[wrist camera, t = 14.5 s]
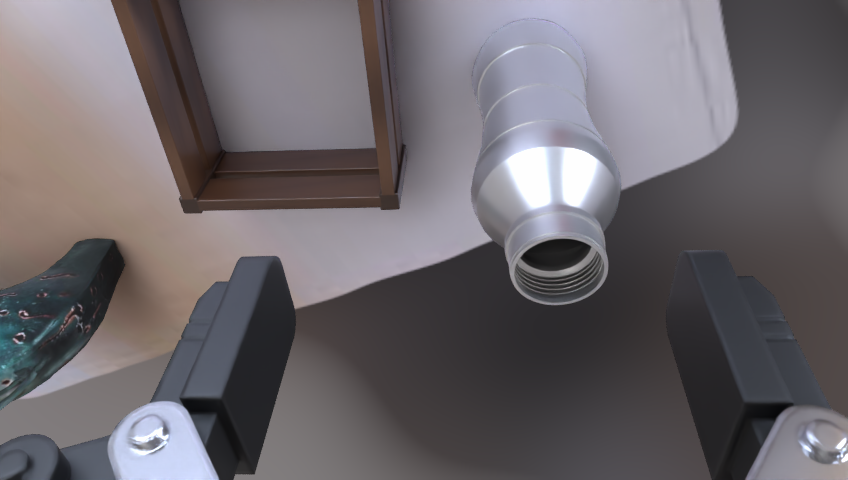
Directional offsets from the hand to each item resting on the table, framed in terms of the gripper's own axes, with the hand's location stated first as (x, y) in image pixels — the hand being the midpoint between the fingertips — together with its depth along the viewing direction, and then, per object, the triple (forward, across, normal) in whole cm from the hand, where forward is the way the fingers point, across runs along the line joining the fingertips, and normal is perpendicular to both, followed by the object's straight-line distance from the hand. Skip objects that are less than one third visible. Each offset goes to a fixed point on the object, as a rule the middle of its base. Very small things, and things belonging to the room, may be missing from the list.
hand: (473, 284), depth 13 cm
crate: (+29, +12, +7) cm, 32 cm away
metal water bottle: (+29, -3, +8) cm, 30 cm away
